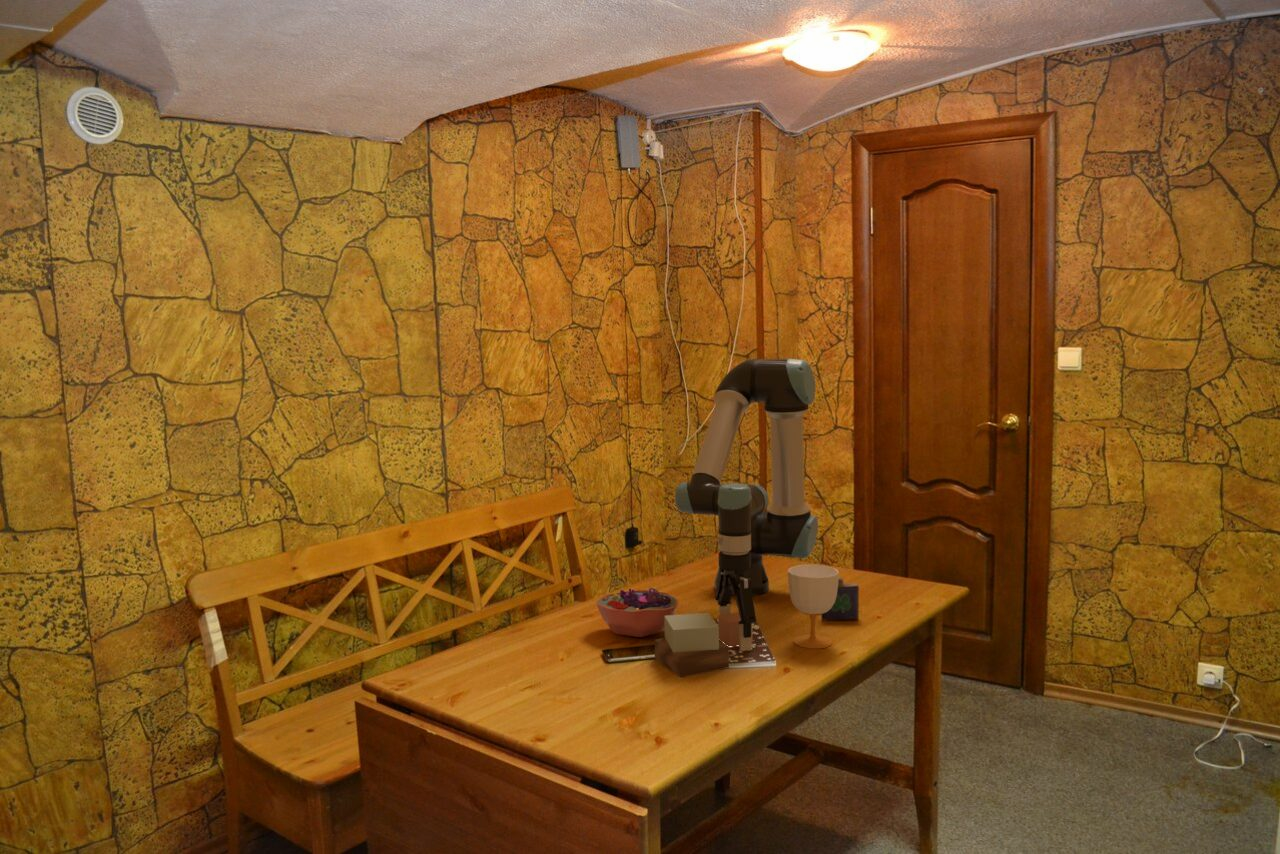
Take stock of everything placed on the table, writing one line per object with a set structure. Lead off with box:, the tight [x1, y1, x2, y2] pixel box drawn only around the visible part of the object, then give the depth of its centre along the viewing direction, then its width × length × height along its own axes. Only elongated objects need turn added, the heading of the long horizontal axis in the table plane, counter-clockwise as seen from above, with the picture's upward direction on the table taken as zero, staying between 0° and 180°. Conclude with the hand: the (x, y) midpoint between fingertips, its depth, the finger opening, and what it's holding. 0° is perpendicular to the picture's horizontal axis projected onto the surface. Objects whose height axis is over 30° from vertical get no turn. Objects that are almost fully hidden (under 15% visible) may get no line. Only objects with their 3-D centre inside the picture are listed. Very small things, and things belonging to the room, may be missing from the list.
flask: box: [821, 576, 860, 622], centre depth 232 cm, size 9×3×11 cm, turn 88°
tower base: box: [654, 637, 730, 678], centre depth 204 cm, size 12×12×5 cm
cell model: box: [595, 587, 679, 638], centre depth 224 cm, size 17×20×11 cm
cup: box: [787, 563, 840, 650], centre depth 216 cm, size 12×12×17 cm
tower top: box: [664, 612, 720, 653], centre depth 204 cm, size 10×10×5 cm
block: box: [717, 612, 754, 646], centre depth 218 cm, size 6×6×6 cm
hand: (734, 641), depth 218 cm, fingers open, 12 cm apart
